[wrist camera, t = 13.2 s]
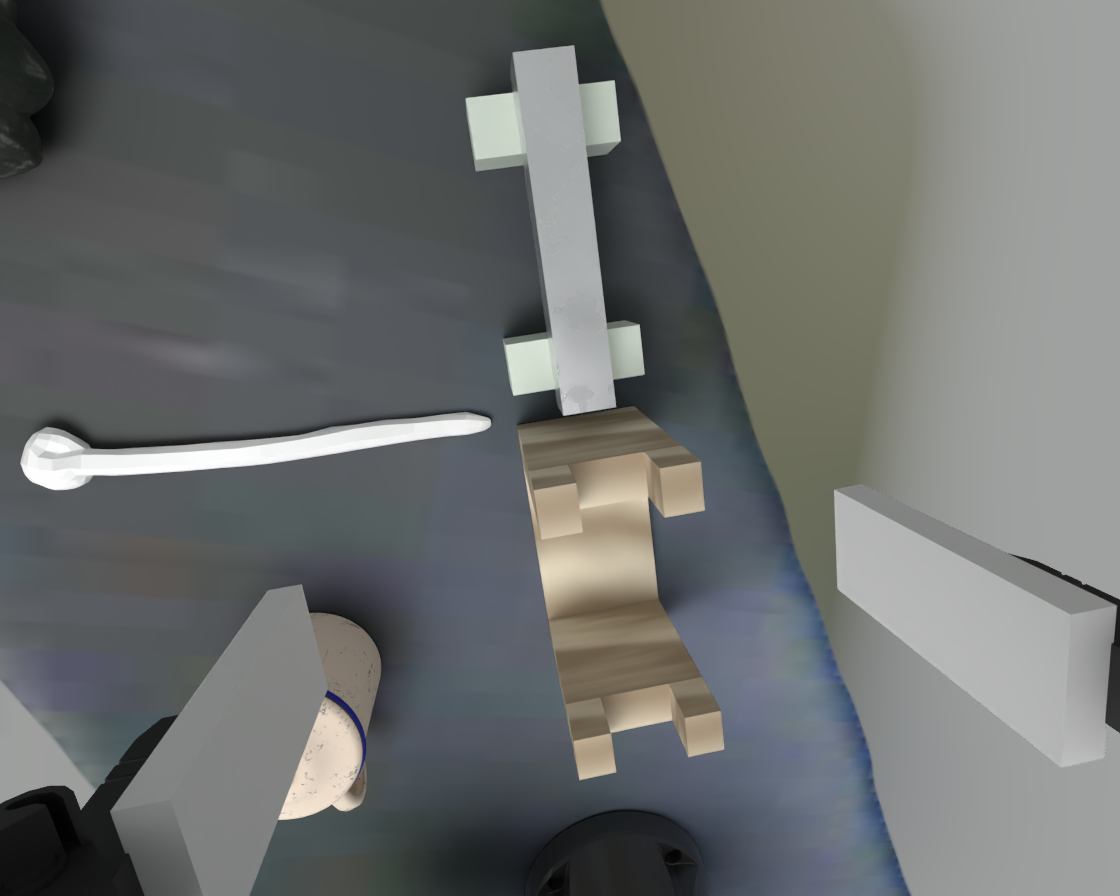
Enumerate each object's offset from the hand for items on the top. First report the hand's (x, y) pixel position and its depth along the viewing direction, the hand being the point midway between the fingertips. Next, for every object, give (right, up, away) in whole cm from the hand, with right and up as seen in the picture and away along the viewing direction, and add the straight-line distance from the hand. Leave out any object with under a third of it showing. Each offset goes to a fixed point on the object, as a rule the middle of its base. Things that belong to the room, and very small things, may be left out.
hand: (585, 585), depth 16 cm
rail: (-1, +15, +21) cm, 25 cm away
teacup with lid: (-17, -13, +30) cm, 37 cm away
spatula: (-19, +5, +26) cm, 32 cm away
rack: (+2, -2, +30) cm, 30 cm away
